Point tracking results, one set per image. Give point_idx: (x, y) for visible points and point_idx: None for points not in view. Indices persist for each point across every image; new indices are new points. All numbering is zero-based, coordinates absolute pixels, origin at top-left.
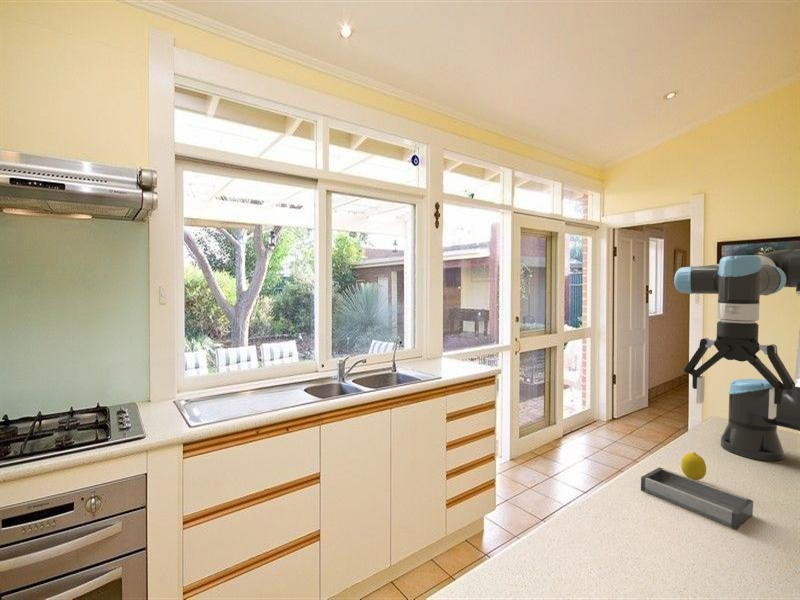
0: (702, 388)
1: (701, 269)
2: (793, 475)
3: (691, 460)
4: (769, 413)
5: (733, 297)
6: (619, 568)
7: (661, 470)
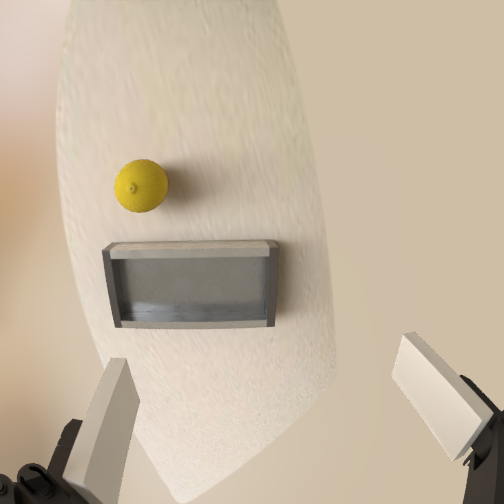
0: (114, 439)
1: None
2: None
3: (138, 209)
4: (402, 387)
5: None
6: (221, 455)
7: (111, 259)
